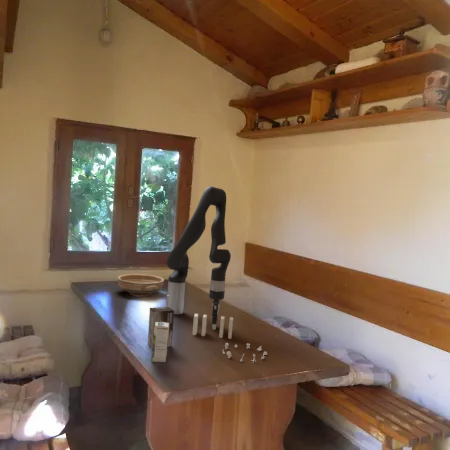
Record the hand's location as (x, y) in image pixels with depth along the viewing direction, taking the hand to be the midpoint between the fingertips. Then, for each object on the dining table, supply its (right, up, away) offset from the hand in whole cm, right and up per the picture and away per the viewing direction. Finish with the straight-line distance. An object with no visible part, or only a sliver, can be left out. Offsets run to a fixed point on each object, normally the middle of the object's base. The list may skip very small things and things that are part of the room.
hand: (214, 322), depth 240 cm
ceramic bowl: (-48, +5, +59) cm, 76 cm away
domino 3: (0, -3, 0) cm, 3 cm away
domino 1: (-9, -3, -11) cm, 15 cm away
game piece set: (+14, -7, -34) cm, 38 cm away
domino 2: (-5, -3, -12) cm, 13 cm away
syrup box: (-21, -5, -49) cm, 53 cm away
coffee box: (-23, -4, -32) cm, 39 cm away
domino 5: (+8, -4, -12) cm, 15 cm away
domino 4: (+3, -4, -12) cm, 13 cm away
